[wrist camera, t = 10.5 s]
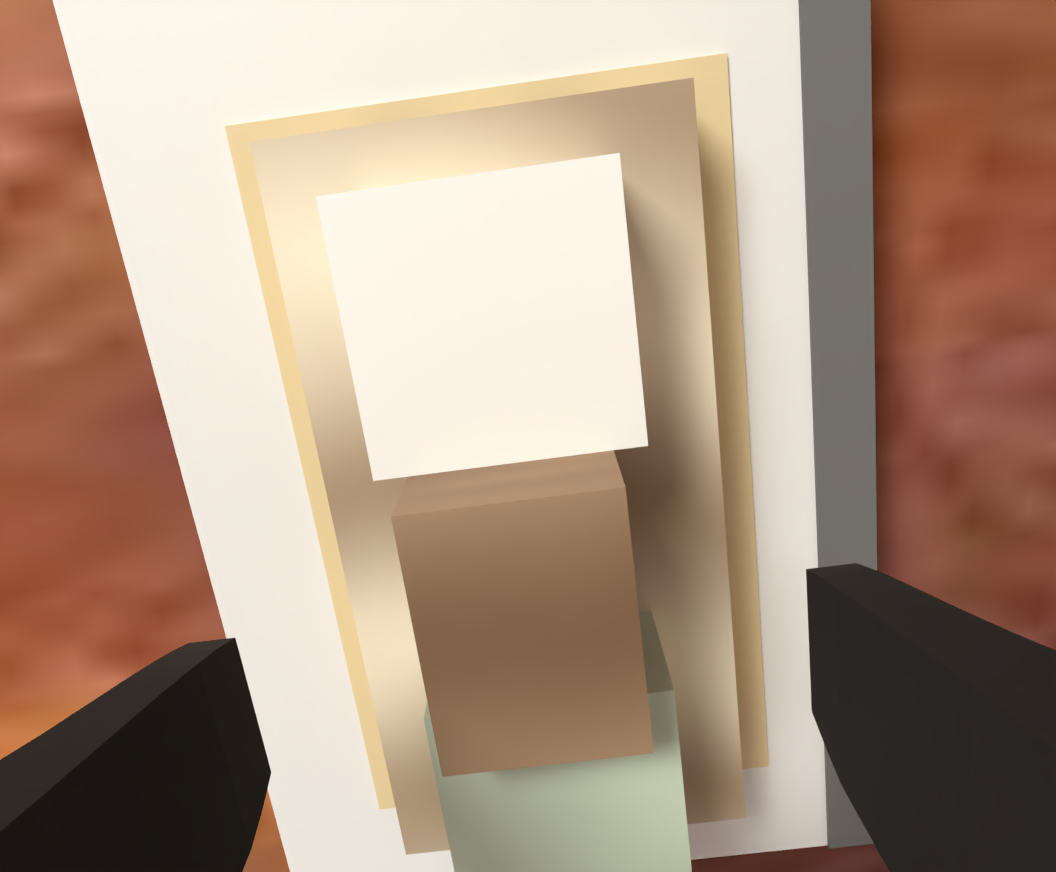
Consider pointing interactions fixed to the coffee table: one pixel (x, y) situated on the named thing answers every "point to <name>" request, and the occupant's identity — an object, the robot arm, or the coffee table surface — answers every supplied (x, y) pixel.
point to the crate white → (489, 316)
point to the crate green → (577, 802)
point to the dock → (275, 382)
